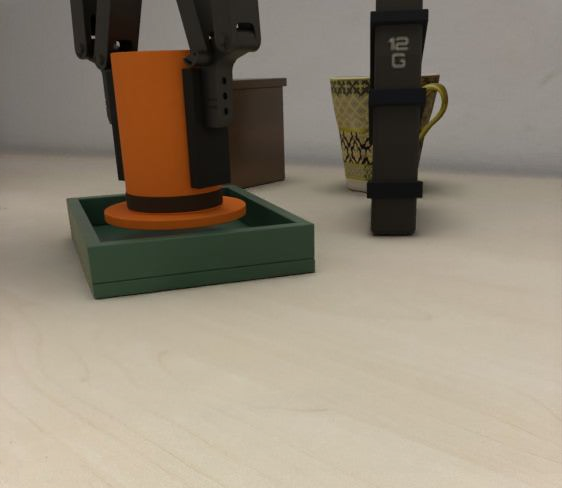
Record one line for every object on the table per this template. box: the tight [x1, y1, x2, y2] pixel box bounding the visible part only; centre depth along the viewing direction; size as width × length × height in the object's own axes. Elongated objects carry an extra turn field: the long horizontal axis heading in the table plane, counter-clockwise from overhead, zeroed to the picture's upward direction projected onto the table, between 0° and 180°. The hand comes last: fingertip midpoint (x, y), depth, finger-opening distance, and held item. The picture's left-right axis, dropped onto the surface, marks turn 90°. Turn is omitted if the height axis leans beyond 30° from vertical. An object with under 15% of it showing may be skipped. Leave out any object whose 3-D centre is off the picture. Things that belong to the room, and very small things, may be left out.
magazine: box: [366, 0, 430, 236], centre depth 52 cm, size 4×13×15 cm, turn 173°
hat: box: [104, 49, 246, 230], centre depth 43 cm, size 9×9×10 cm
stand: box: [221, 77, 288, 189], centre depth 72 cm, size 11×11×10 cm
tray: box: [65, 185, 316, 300], centre depth 46 cm, size 17×13×3 cm
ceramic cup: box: [329, 73, 449, 193], centre depth 65 cm, size 13×10×10 cm
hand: (173, 180), depth 44 cm, fingers closed on hat, 6 cm apart
